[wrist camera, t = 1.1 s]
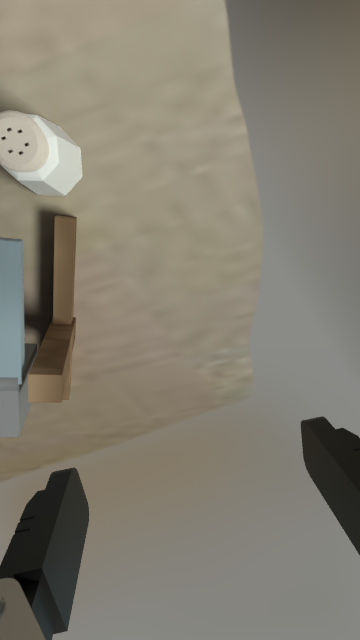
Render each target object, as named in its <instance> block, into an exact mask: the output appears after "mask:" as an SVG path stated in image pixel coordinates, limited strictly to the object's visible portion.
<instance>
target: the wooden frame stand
mask: <svg viewBox="0 0 360 640" xmlns="http://www.w3.org/2000/svg"><path fill="white" fill-rule="evenodd" d="M76 221H77V218H76V217H68V216H60V215H57V216H55V225H54V288H53V318H52V321H51V323H50V325H49V327H48V330H47V332H46V334H45V337H44V339H43V341H42V344H41V346H40V348H39V351H38V353H37V355H36V357H35V360H34V362H33V364H32V367H31V369H30V371H29V374H28V402H62V400H69V395H70V389H71V362H72V350H73V346H74V341H75V328H76V318H73V306H74V277H75V249H76Z"/></svg>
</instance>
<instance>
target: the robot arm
mask: <svg viewBox="0 0 360 640" xmlns="http://www.w3.org/2000/svg"><path fill="white" fill-rule="evenodd" d="M301 434H302V446H303V457H304V462H305V466H306V468H307V471H308V473H309V475H310V477H311V478H312V480H313V482H314V483H315V485H316V486H317V488H318V489H319V491H320V493H321V494H322V496H323V497H324V499H325V501H326V502H327V504H328V505H329V507H330V509H331V510H332V512H333V513H334V515H335V516H336V518H337V520H338V521H339V523H340V525H341V526H342V528H343V529H344V531H345V532H346V534H347V535H348V537H349V539H350V540H351V542H352V544H353V545H354V546H355V548H356V550H357V551H358V553H359V555H360V438H359V437H358V436H357V435H355V434H353V433H351V432H349V431H348V430H346V429H344V428H340V429H335V428H334V427H333V426H332V425H331V424H330V423H329V422H328V420H327V419H326V418H324V417H317V418H313V419H308V420H303V421H302V422H301ZM88 522H89V507H88V502H87V499H86V496H85V493H84V489H83V486H82V483H81V480H80V477H79V474H78V471H77V469H76V468H70V469H65V470H60V471H55V472H53V473H52V474H51V475H50V478H49V481H48V483H47V486H46V489H45V490H42V491H38V492H37V493H36V494H35V495H34V496H33V498H32V499H31V500H30V501H29V502H28V504H27V505H26V507H25V509H24V511H23V514H22V516H21V518H20V522H19V523H18V525H17V528H16V530H15V534H14V535H13V537H12V539H11V542H10V544H9V547H8V549H7V551H6V554H5V556H4V558H3V561H2V563H1V565H0V640H52V636H53V634H56V633H61V632H65V631H67V630H68V625H69V620H70V614H71V609H72V604H73V598H74V594H75V589H76V584H77V579H78V573H79V568H80V563H81V558H82V553H83V548H84V543H85V538H86V533H87V528H88Z"/></svg>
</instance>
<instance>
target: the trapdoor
mask: <svg viewBox="0 0 360 640" xmlns="http://www.w3.org/2000/svg"><path fill="white" fill-rule="evenodd" d="M36 355H37V344H26V343H24V266H23V240H21V239H11V238H2V237H0V437H19V436H20V433H21V430H22V427H23V424H24V422H25V419H26V416H27V413H28V411H29V408H30V405H31V402H28V374H29V371H30V369H31V367H32V364H33V362H34V360H35V357H36Z"/></svg>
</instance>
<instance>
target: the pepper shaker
mask: <svg viewBox="0 0 360 640" xmlns="http://www.w3.org/2000/svg"><path fill="white" fill-rule="evenodd" d="M0 165H1V166H2V167H3V168H4V169H5V170H6V171H8V172H9V173H10V174H11V175H12V176H13V177H14V178H15V179H16V180H18V181H19V182H20V183H21V184H23V185H24V186H26V187H27V188H29V189H30V190H32V191H33V192H35V193H36V194H38V195H55V196H66V194H67V193H68V192H69V191H70V190H71V189H72V188H73V187H74V186H75V185H76V183H77V182H78V181H79V180H80V179H81V178H82V163H81V149H80V148H79V147H78V146H77V144H76V143H75V142H74V141H73V140H72V139H71V138H70V137H69V136H68V135H67V134H66V133H65V132H64V131H63V130H62V129H61V128H60V127H59V126H57V125H55V124H53V123H52V122H50V121H48V120H46V119H44V118H42V117H40V116H38V115H32V114H25V113H22V112H19V111H13V110H7V111H3V112H0Z"/></svg>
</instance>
